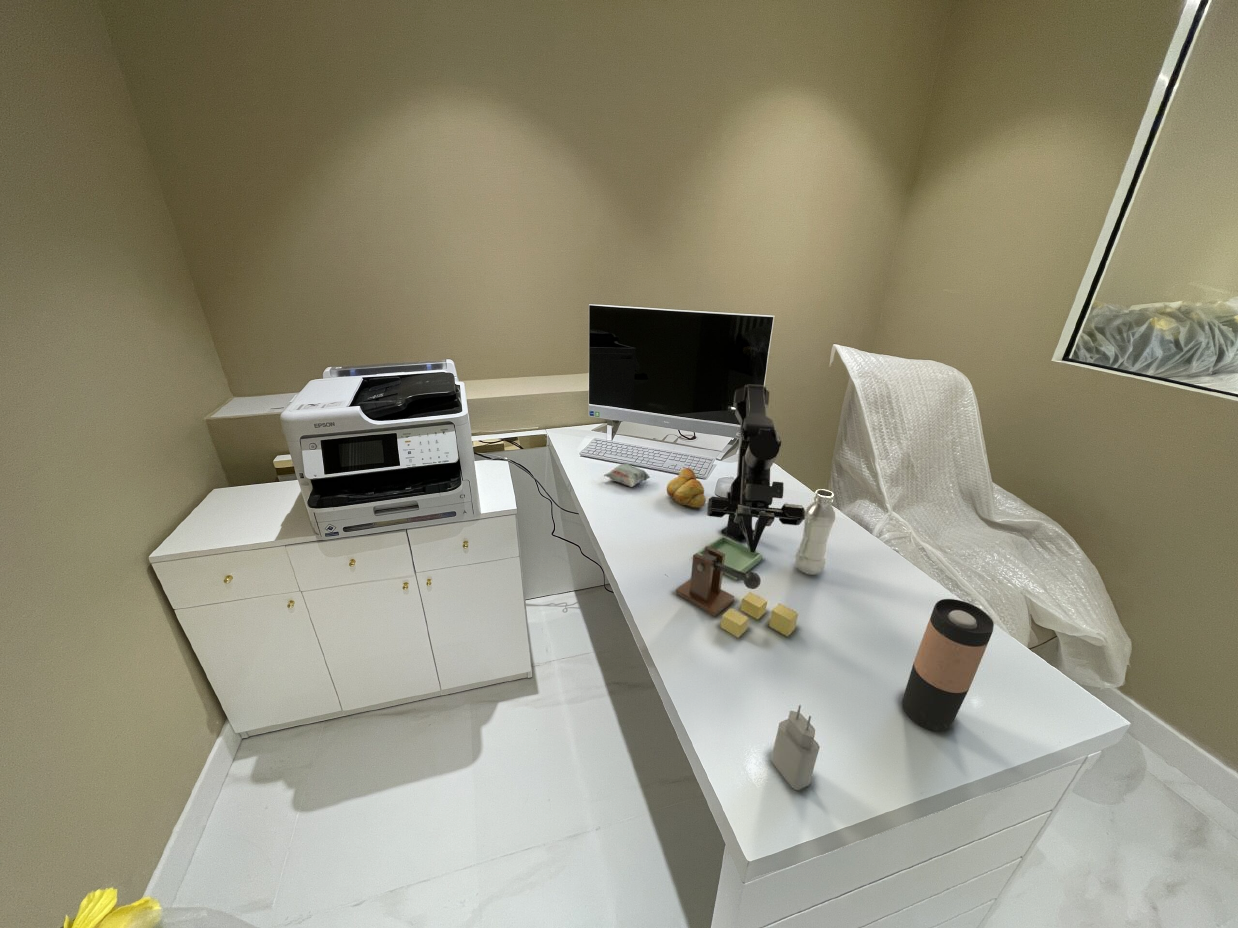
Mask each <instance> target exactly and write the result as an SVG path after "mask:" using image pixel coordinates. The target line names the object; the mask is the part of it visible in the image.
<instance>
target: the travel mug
mask: <svg viewBox="0 0 1238 928" xmlns="http://www.w3.org/2000/svg"><path fill="white" fill-rule="evenodd" d="M994 626H995V623H994V619H992V617H991V616H990V615H989V614H988V613H986V611H984V610H982V609H981V608H980V607H977V606H976V605H974V604H971V603H970V602H966V601H964V600H960V599H955V598H943V599H940V600H938V601H936V603H935V604H934V606H933V608H932V612H931V614H930V617H929V620H928V623H927V625H926V627H925V631H924V633H923V637H922V639H921V641H920V643H919V647H918V649H917V652H916V654H915V658H914V660H913V664H912V667H911V670H910V673H909V677H908V679H907V683H906V686H905V690H904V693H903V697H902V701H901V703H902V709H903V711H904V713H905V714H906V715H907V717H908V718H909V719H910V720H912V722H913V723H915V724H916V725H918V726H920V727H922V728H924V729H926V730H929V731H932V732H945V731H947V730H948V729H950V728H951V727H952V725H953V723H954V721H955V719H956V717H957V715H958V713H959V711H960V709H961V707H962V705H963V703H964V701H965V699H966V697H967V695H968V692H969V690H970V688H971V686H972V684H973V682H974V678H975V676H976V674H977V671H978V668H979V667H980V664H981V662H982V659H983V657H984V654H985V652H986V650H987V648H988V645H989V642H990V641H991V637H992V635H993V633H994Z"/></svg>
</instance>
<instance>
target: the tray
mask: <svg viewBox="0 0 1238 928" xmlns="http://www.w3.org/2000/svg"><path fill="white" fill-rule="evenodd" d="M707 546H709V547H712V548H714V549H716V550H718V551H720V552H722V553H724V554H725V561H724V565H726V566H728V567H731V568H733V569H735V570H738V571H740V572H743V573H745V574H747V573H748V572H749V571H750V570H751V569H752V568H754V567H755V566H756V565H758V564H759V563H760V562H761V561H762V559H763V553H761V552H759V551H757V550H756V551H755V553H750V551H749V548H748V546H746V545H744V544H742V543H740V542H737V540H733V539H731V538H729V537H727V536H725V535H722V536H720V537H719V538H717V539H716V540H714V541H713V542H711V543H710V544H708V545H707ZM704 551H705V547H704V548H702V549H701V550H699V551H698V552H696V553H697V554H699V555H701V556H702V555H703V554H704ZM723 575H726V576H728V577H729V578H732V579H733V580H735V581H738V580H739V579H738V578H736V577H734V576H731V575H729V574H727V573H724V572H723Z"/></svg>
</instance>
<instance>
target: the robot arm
mask: <svg viewBox="0 0 1238 928" xmlns="http://www.w3.org/2000/svg"><path fill="white" fill-rule="evenodd" d="M732 403H733V404H732V405H733V406H732V407H733V408H735V410H734V411H735V412H734V415H735V417H736V419H737V421H738V423H739V424H740V427H739V432H738V453H737V454H738V455H737V468H736V469H737V470H736V477H735V479H734V480H733V481H732V483H731V484H730V486H729V491H727V492H726V494H725V497H722V496H713V495H712V496H710V497H709V498H708V501H707V508H706V516H708V517H711V518H723V517H725V516H726V515H728V518H727V523H726V524H727V525H726V527H724V528H722V529H721V531H720V532H721V533H722V534H724V535H726V536H728V537H730V538H733V539H735V540H736V541H739V542H741V543H743V542H746V544H747V547H748V548H749V551H750V553H755V551H757V549H758V545H759V542H760V540H761V537H762V535H763V532H764V530H765V528H766V527H771V526H772V524H773V523H774V521H775V518H777V519H778V521H779V522H780V523H781V524H782V525H787V526H788V525H789V526H800V525H801V524H802V522H803V521H804V519H805V510H806V509H805V507H804V506H803V505H802V504H801V505H800V504H792V503H784V504H783V505H782V506H781V508H778V507H770V506H771V505H773V502H774V501H773V499H783V498H784V482H782V481H772V483H771V467H773V465H774V462H775V461H776V459H777V457H778V454H779V452H780V448H781V447H782V439H781V437H780V435H779V433H778V430H777V429H775V423H774V420H772V419H771V418H770V417H768V416H767V415H768V414H767V409H768V407H769V406H770V405H769V403H770V391H769V390H767V386H766V385H763V384H751V383H748V384H745V385H744V386H743V387H740V388H737V389H735V391H734V395H733V402H732ZM753 518H757V520H756V521H755V525H754V529H753Z"/></svg>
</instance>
